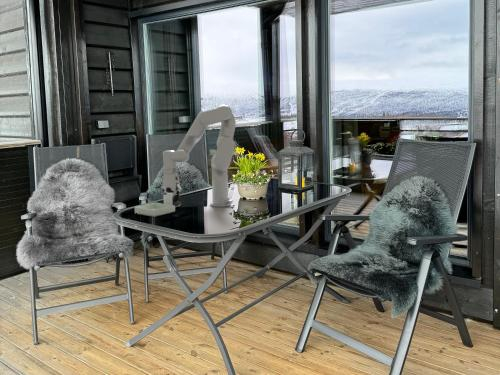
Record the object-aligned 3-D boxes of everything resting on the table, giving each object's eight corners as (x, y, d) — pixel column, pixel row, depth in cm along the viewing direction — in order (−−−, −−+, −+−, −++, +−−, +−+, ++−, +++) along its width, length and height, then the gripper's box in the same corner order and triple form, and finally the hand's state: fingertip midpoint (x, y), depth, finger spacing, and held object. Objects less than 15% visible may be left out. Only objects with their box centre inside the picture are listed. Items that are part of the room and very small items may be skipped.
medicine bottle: (173, 207, 303) (171, 187, 301) (163, 206, 307) (162, 187, 305) (180, 205, 309) (179, 185, 307) (171, 204, 313) (170, 185, 311)
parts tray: (175, 211, 296) (174, 205, 296) (154, 216, 284) (154, 210, 283) (155, 208, 306) (155, 202, 305) (134, 213, 293) (134, 207, 292)
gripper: (185, 171, 302) (187, 201, 305) (164, 169, 312) (166, 198, 315) (176, 173, 296) (178, 203, 299) (155, 171, 306) (157, 200, 309)
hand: (171, 200), depth 307 cm, fingers closed on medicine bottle, 7 cm apart
